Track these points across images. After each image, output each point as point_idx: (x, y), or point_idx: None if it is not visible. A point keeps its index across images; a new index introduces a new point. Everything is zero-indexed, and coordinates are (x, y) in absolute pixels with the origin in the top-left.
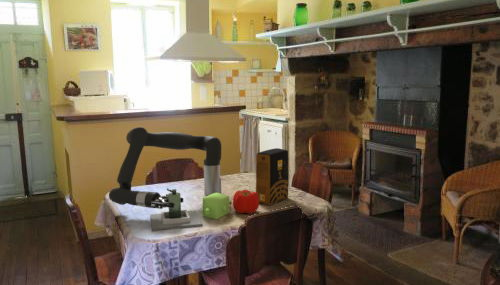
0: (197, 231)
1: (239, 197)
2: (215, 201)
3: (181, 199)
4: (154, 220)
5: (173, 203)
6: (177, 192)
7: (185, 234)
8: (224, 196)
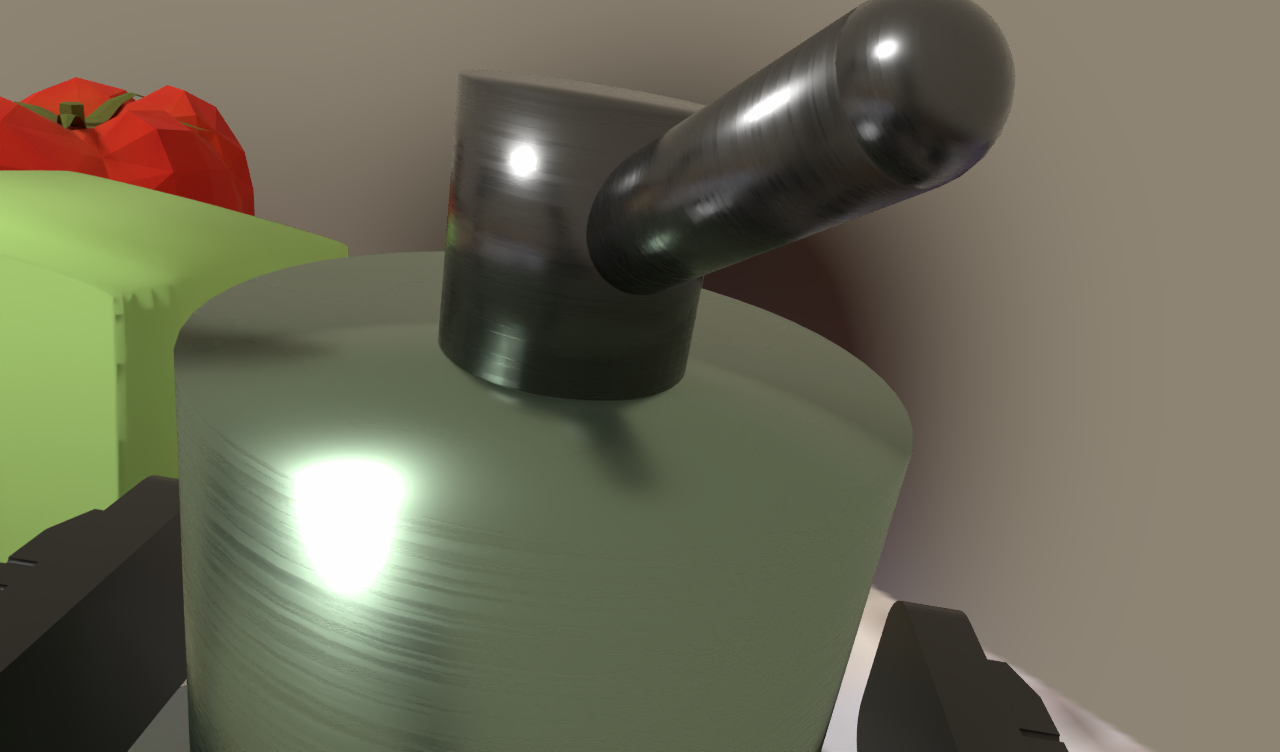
0: (864, 624)
1: (186, 153)
2: (342, 247)
3: None
4: None
5: (924, 605)
6: (258, 288)
7: (1060, 729)
8: (100, 183)
